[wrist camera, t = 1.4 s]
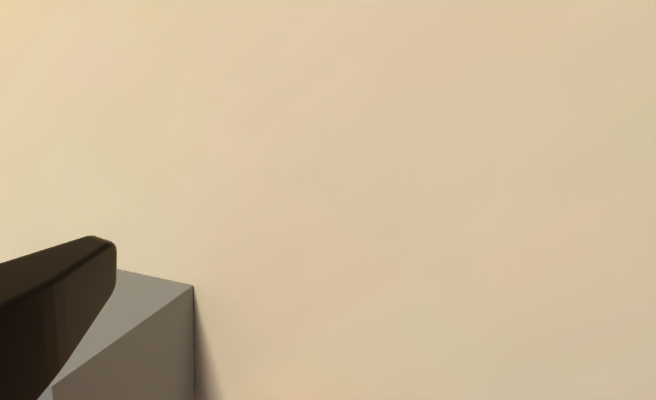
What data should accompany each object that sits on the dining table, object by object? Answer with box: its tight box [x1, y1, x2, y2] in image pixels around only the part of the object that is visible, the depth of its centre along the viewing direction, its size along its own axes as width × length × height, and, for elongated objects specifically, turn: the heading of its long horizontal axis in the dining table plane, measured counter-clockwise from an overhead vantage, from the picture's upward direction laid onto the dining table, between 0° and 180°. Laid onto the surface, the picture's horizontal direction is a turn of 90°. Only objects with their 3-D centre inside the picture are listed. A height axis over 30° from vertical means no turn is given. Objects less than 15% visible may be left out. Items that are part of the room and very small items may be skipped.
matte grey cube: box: [37, 270, 195, 400], centre depth 25 cm, size 8×8×9 cm
